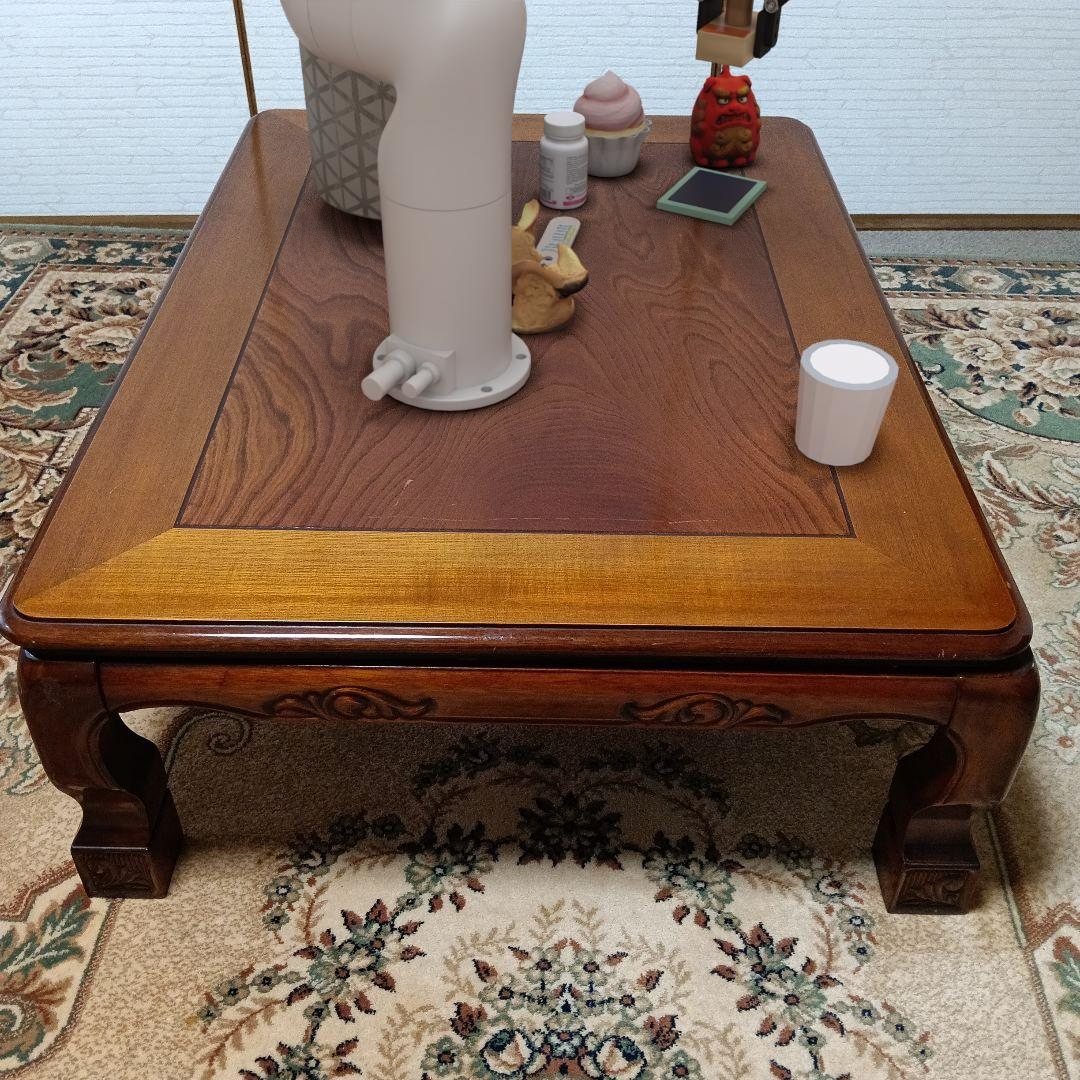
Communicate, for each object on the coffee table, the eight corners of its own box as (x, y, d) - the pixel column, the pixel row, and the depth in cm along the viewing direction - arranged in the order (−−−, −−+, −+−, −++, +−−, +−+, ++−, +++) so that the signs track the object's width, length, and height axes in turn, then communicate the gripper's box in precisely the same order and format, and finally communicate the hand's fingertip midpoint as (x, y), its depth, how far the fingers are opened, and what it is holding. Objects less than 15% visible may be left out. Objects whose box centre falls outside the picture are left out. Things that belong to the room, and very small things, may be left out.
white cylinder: (811, 477, 86) (828, 395, 82) (771, 425, 91) (784, 344, 87) (897, 462, 88) (917, 381, 83) (852, 411, 93) (870, 332, 88)
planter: (422, 271, 110) (411, 68, 98) (276, 214, 118) (251, 21, 107) (547, 202, 121) (551, 13, 110) (406, 155, 130) (396, -25, 118)
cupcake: (643, 148, 132) (650, 55, 126) (654, 183, 125) (662, 86, 119) (558, 149, 132) (561, 55, 126) (565, 184, 125) (568, 87, 118)
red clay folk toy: (700, 175, 127) (715, 27, 118) (675, 150, 132) (688, 6, 123) (766, 168, 129) (786, 21, 119) (739, 143, 134) (757, 1, 124)
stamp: (727, 34, 113) (734, -28, 110) (773, 42, 112) (781, -21, 108) (694, 59, 108) (700, -6, 104) (742, 68, 106) (749, 2, 103)
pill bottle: (587, 192, 123) (591, 110, 118) (584, 212, 120) (587, 128, 114) (541, 189, 124) (542, 107, 118) (536, 209, 120) (537, 125, 115)
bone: (443, 321, 103) (439, 229, 97) (495, 273, 110) (494, 185, 104) (571, 354, 99) (575, 260, 94) (617, 302, 106) (623, 212, 100)
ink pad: (731, 226, 118) (732, 217, 117) (656, 208, 121) (656, 200, 120) (766, 189, 125) (767, 180, 124) (694, 173, 127) (695, 165, 127)
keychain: (561, 263, 110) (528, 260, 110) (560, 269, 110) (528, 266, 110) (583, 215, 117) (553, 212, 118) (583, 221, 118) (553, 217, 118)
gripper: (875, -178, 98) (837, 53, 109) (683, -198, 104) (666, 23, 115) (847, -163, 93) (810, 78, 104) (647, -185, 99) (633, 45, 110)
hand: (735, 47), depth 110 cm, fingers closed on stamp, 4 cm apart
